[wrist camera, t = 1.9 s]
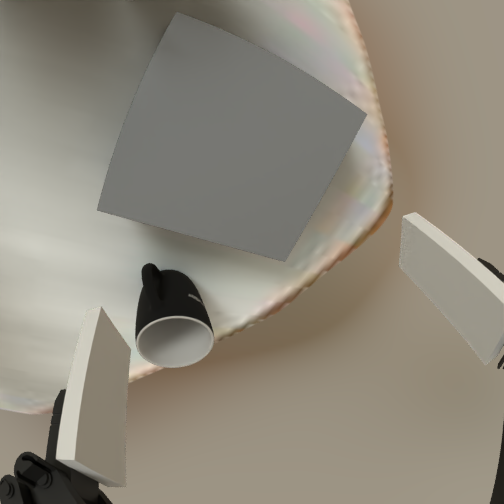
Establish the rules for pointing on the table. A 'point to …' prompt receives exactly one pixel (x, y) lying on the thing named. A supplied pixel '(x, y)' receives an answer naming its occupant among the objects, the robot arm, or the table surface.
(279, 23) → the table surface
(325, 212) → the table surface
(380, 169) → the table surface
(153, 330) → the mug
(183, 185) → the large grey square box
